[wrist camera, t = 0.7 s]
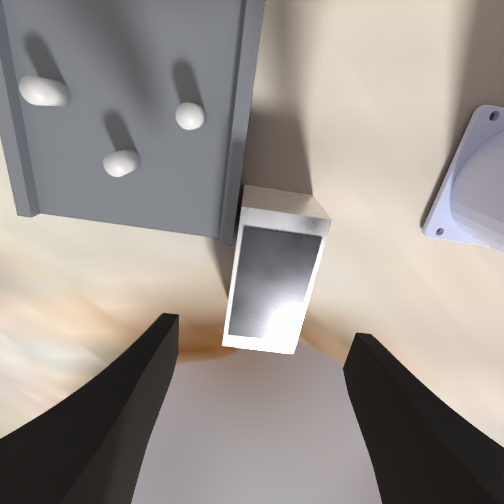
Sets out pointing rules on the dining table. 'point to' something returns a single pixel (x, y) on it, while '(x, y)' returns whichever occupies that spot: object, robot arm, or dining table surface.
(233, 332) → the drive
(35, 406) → the dining table surface
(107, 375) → the robot arm
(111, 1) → the pin tray
